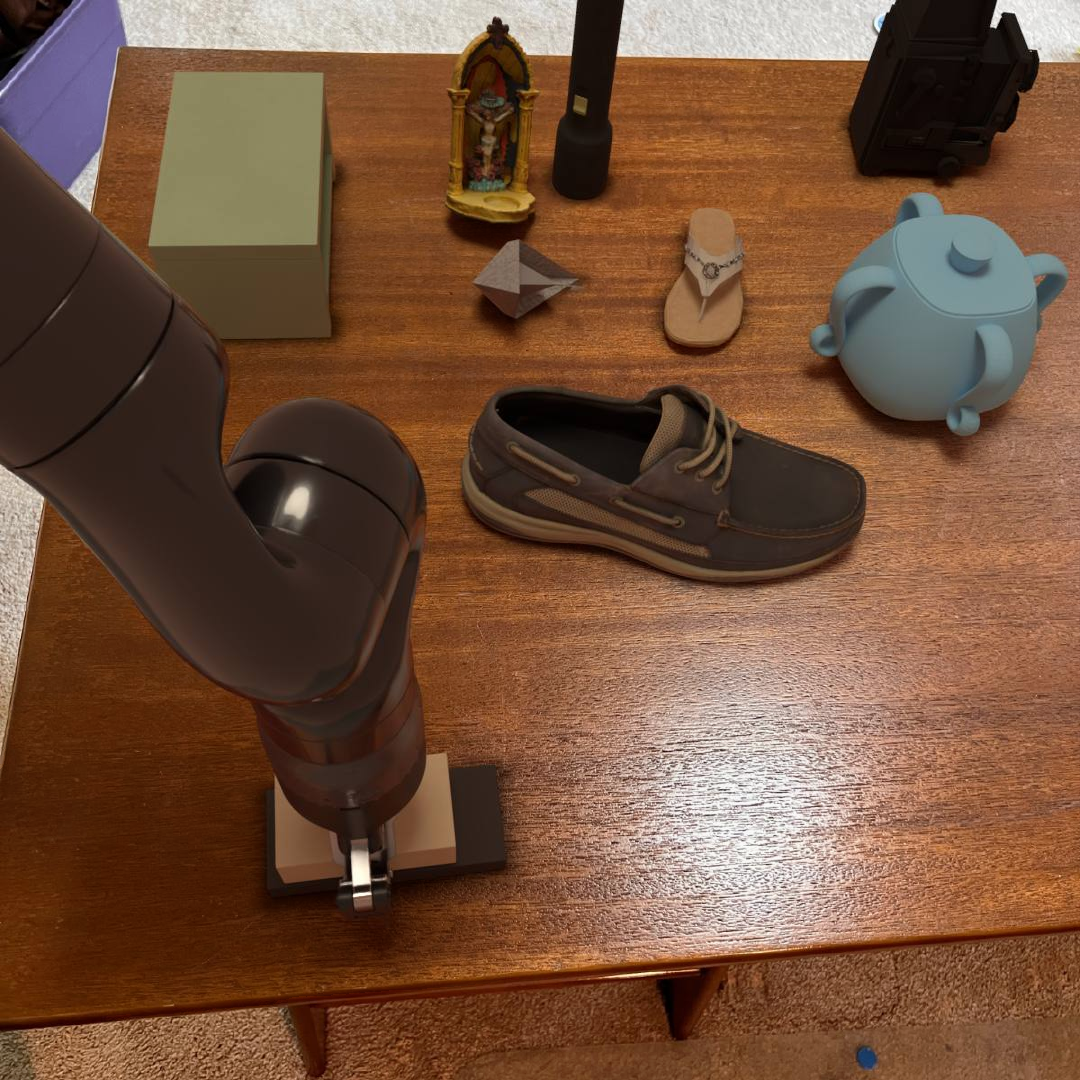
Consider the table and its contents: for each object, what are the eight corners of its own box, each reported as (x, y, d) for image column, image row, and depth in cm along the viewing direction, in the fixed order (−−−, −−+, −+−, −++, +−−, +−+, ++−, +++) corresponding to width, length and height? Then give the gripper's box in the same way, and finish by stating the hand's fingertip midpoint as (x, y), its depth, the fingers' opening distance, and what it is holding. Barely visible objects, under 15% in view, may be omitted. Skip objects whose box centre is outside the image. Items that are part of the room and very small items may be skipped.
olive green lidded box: (331, 337, 87) (317, 244, 79) (178, 340, 86) (147, 245, 77) (335, 170, 97) (323, 72, 89) (199, 171, 96) (174, 71, 88)
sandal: (661, 353, 88) (671, 310, 84) (665, 221, 97) (674, 176, 92) (742, 362, 89) (756, 319, 84) (738, 229, 97) (751, 184, 92)
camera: (997, 191, 102) (1106, -13, 85) (856, 183, 101) (937, -24, 84) (975, 122, 107) (1073, -83, 90) (840, 114, 106) (914, -94, 89)
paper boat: (515, 229, 93) (614, 239, 90) (512, 304, 96) (609, 316, 92) (447, 242, 83) (557, 254, 80) (446, 325, 86) (552, 340, 82)
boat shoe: (858, 599, 77) (911, 518, 68) (451, 563, 77) (450, 477, 68) (845, 475, 83) (892, 385, 74) (466, 441, 83) (467, 346, 73)
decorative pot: (772, 363, 89) (819, 237, 77) (879, 265, 95) (937, 136, 84) (940, 479, 84) (1017, 363, 72) (1041, 367, 90) (1126, 245, 79)
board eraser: (271, 897, 64) (257, 873, 59) (270, 799, 67) (256, 769, 62) (505, 869, 66) (509, 843, 61) (494, 774, 69) (496, 743, 64)
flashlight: (566, 156, 100) (542, 187, 98) (594, -112, 80) (564, -81, 78) (615, 175, 100) (591, 207, 97) (656, -91, 79) (627, -59, 77)
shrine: (444, 163, 99) (441, 9, 86) (532, 164, 100) (543, 11, 87) (445, 252, 93) (443, 101, 80) (539, 253, 94) (552, 103, 81)
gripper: (263, 601, 54) (304, 726, 69) (265, 891, 47) (310, 963, 61) (412, 588, 55) (422, 713, 70) (437, 869, 48) (442, 946, 62)
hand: (369, 830), depth 65 cm, fingers open, 6 cm apart
